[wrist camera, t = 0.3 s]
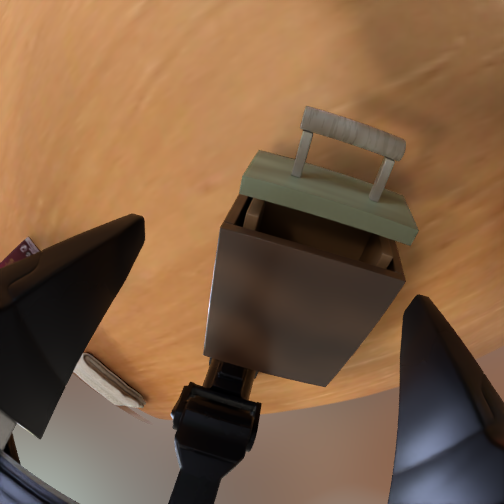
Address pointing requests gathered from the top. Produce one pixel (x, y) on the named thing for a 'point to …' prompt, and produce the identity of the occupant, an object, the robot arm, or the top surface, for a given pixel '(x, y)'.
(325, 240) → the drawer
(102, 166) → the top surface
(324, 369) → the cabinet
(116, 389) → the washcloth
